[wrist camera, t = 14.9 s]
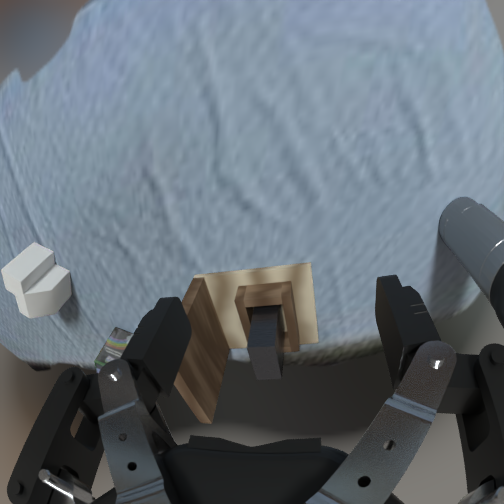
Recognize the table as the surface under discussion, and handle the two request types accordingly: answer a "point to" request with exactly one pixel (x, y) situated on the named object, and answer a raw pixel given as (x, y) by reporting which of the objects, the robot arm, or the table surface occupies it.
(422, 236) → the table surface
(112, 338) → the chalk box
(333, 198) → the table surface
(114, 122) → the table surface
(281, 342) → the dark grey block
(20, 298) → the white stepped block
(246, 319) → the post socket
